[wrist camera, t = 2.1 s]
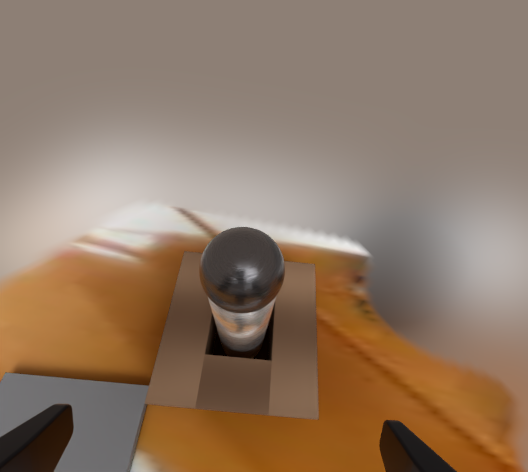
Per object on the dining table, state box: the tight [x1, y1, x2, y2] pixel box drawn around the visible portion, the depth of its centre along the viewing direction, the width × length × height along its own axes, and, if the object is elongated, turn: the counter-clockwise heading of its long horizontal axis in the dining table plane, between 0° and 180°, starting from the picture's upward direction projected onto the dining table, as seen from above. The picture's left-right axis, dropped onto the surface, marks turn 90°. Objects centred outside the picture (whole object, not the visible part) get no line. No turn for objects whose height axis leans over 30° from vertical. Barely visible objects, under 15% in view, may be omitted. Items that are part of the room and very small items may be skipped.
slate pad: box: [0, 373, 149, 472], centre depth 16 cm, size 9×9×1 cm
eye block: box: [144, 251, 319, 420], centre depth 19 cm, size 9×9×4 cm
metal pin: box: [199, 227, 285, 359], centre depth 15 cm, size 3×3×13 cm
